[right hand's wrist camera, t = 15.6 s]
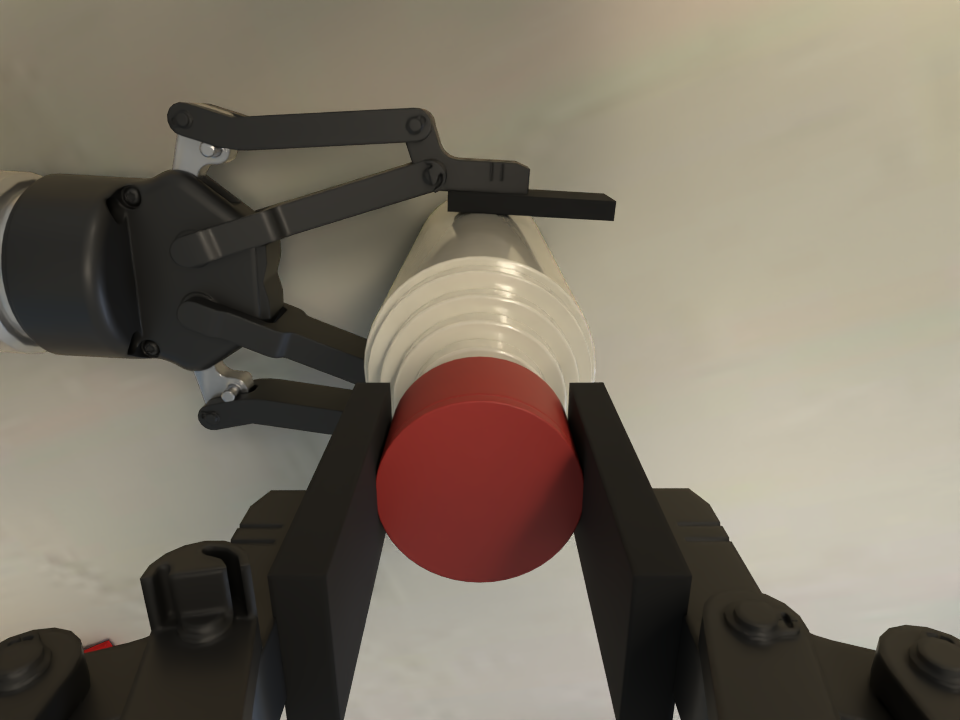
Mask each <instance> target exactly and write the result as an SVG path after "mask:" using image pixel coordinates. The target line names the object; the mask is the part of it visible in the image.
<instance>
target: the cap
mask: <svg viewBox="0 0 960 720" xmlns="http://www.w3.org/2000/svg"><path fill="white" fill-rule="evenodd" d="M583 484H584V476H583V471H582V468H581V464H580V461H579V457H578V454H577V450H576V447H575V443H574V440H573V436H572V433H571V430H570V426H569V423H568V419H567V416H566V413H565V410H564V408H563V406H562V404H561V402H560V400H559V398H558V397H557V395H556V394H555V392H554V391H553V390H552V388H551V387H550V386H549V385H548V384H547V383H546V382H545V381H544V380H543V379H541V378H540V377H539V376H538V375H537V374H535V373H533V372H532V371H530V370H529V369H527V368H525V367H523V366H521V365H519V364H517V363H514V362H511V361H508V360H504V359H499V358H494V357H481V356H479V357H466V358H461V359H455V360H452V361H449V362H446V363H443V364H441V365H439V366H437V367H435V368H433V369H431V370H429V371H428V372H426V373H425V374H423V375H422V376H421V377H420V378H418V379H417V380H416V381H415V382H414V383H413V384H412V385H411V386H410V387H409V388H408V389H407V390H406V392H405V393H404V395H403V396H402V398H401V399H400V401H399V403H398V405H397V407H396V409H395V412H394V415H393V419H392V422H391V425H390V429H389V432H388V436H387V439H386V443H385V446H384V449H383V453H382V456H381V460H380V463H379V467H378V470H377V474H376V491H377V506H378V515H379V518H380V521H381V523H382V525H383V527H384V529H385V531H386V533H387V534H388V536H389V537H390V539H391V541H392V542H393V543H394V544H395V545H396V547H397V548H398V549H399V550H400V551H401V552H402V553H403V554H404V555H406V556H407V557H408V558H409V559H410V560H412V561H413V562H415V563H416V564H417V565H419V566H421V567H422V568H424V569H426V570H428V571H430V572H432V573H435V574H437V575H440V576H443V577H446V578H450V579H453V580H459V581H465V582H495V581H501V580H506V579H510V578H514V577H517V576H520V575H522V574H525V573H527V572H530V571H532V570H534V569H535V568H537V567H539V566H541V565H542V564H544V563H545V562H547V561H548V560H549V559H551V558H552V557H553V556H554V555H555V554H556V553H558V552H559V551H560V550H561V549H562V547H563V546H564V545H565V544H566V543H567V541H568V540H569V539H570V537H571V535H572V534H573V532H574V531H575V529H576V527H577V524H578V522H579V520H580V517H581V513H582V500H583Z"/></svg>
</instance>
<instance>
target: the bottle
mask: <svg viewBox="0 0 960 720" xmlns="http://www.w3.org/2000/svg"><path fill="white" fill-rule="evenodd" d="M447 207H448V200H447V201H446V202H444V203H442V204H441V205H440V206H439V207H438V208H436V209H435V210H434V211H433V212H432V214H431V215H430V216H429V217H428V219H427V220H426V222H425V223H424V225H423V227H422V229H421V231H420V233H419V235H418V237H417V239H416V241H415V242H414V244H413V246H412V248H411V250H410V252H409V254H408V256H407V258H406V260H405V262H404V264H403V266H402V267H401V269H400V271H399V273H398V275H397V277H396V279H395V281H394V283H393V285H392V287H391V289H390V291H389V292H388V294H387V296H386V298H385V300H384V302H383V304H382V306H381V308H380V310H379V312H378V314H377V316H376V318H375V320H374V321H373V323H372V326H371V329H370V332H369V335H368V338H367V343H366V348H365V356H364V372H365V381H366V383H390V388H391V407H392V419H393V415H394V412H395V409H396V407H397V405H398V403H399V401H400V399H401V398H402V396H403V395H404V393H405V392H406V390H407V389H408V388H409V387H410V386H411V385H412V384H413V383H414V382H415V381H416V380H417V379H418V378H420V377H421V376H422V375H423V374H425V373H426V372H428V371H429V370H431V369H433V368H435V367H437V366H439V365H441V364H443V363H446V362H449V361H452V360H455V359H461V358H466V357H479V356H481V357H494V358H499V359H504V360H508V361H511V362H514V363H517V364H519V365H521V366H523V367H525V368H527V369H529V370H530V371H532V372H533V373H535V374H537V375H538V376H539V377H540V378H541V379H543V380H544V381H545V382H546V383H547V384H548V385H549V386H550V387H551V388H552V390H553V391H554V392H555V394H556V395H557V397H558V398H559V400H560V402H561V404H562V406H563V408H564V410H565V413H566V416H567V419H568V399H569V383H594V380H595V371H596V357H595V347H594V343H593V339H592V335H591V332H590V329H589V327H588V324H587V322H586V319H585V317H584V315H583V313H582V311H581V310H580V308H579V306H578V304H577V302H576V300H575V298H574V296H573V294H572V292H571V290H570V288H569V286H568V285H567V283H566V281H565V279H564V277H563V275H562V273H561V271H560V269H559V267H558V265H557V263H556V261H555V259H554V258H553V256H552V254H551V252H550V250H549V248H548V246H547V244H546V242H545V240H544V238H543V236H542V234H541V232H540V231H539V229H538V227H537V225H536V223H535V222H534V220H533V219H532V217H531V216H517V215H499V214H484V213H463V212H447Z"/></svg>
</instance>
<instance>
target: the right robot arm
mask: <svg viewBox="0 0 960 720" xmlns="http://www.w3.org/2000/svg"><path fill="white" fill-rule="evenodd" d="M391 422H392V407H391V388H390V383H356V384H355V387H354V389H353V391H352V393H351V395H350V397H349V400H348V402H347V404H346V406H345V408H344V410H343V413H342V415H341V417H340V419H339V421H338V423H337V426H336V428H335V430H334V432H333V434H332V436H331V438H330V441H329V443H328V445H327V447H326V449H325V451H324V454H323V456H322V458H321V460H320V462H319V464H318V467H317V469H316V471H315V473H314V475H313V477H312V480H311V482H310V484H309V486H308V488H307V490H271V491H270V492H268V493H267V494H266V495H264V496H263V497H262V498H261V499H259V500H258V501H257V502H255V503H254V504H253V505H251V506H250V508H249V510H248V511H247V513H246V515H245V516H244V518H243V520H242V522H241V523H240V528H237V530H236V532H235V533H234V535H233V537H232V539H231V543H230V542H227V541H202V542H198V543H193V544H189V545H185V546H182V547H180V548H178V549H175V550H173V551H171V552H168V553H166V554H164V555H163V556H162V557H160V558H159V559H158V560H156V561H155V562H154V563H152V564H151V565H149V567H148V568H147V570H146V571H145V572H144V574H143V575H142V576H141V578H140V581H141V586H142V590H143V595H144V599H145V604H146V609H147V613H148V618H149V622H150V627H151V634H150V636H148V637H146V638H143V639H139V640H136V641H133V642H130V643H126V644H121V645H117V646H113V647H108V648H104V649H100V650H96V651H91V652H87V653H84V650H83V647H82V643H81V640H80V639H79V638H78V637H77V636H76V635H75V634H74V633H73V632H72V631H69V630H64V629H59V628H47V629H38V630H32V631H29V632H25V633H22V634H19V635H16V636H13V637H10V638H8V639H6V640H4V641H2V642H1V643H0V720H280V717H281V714H282V711H283V708H284V705H285V708H286V716H287V720H344V716H345V711H346V707H347V702H348V698H349V694H350V689H351V685H352V680H353V676H354V671H355V667H356V662H357V658H358V654H359V649H360V645H361V640H362V636H363V631H364V627H365V623H366V618H367V614H368V609H369V605H370V600H371V596H372V591H373V587H374V583H375V578H376V574H377V569H378V565H379V560H380V556H381V551H382V547H383V543H384V538H385V534H386V531H385V529H384V527H383V525H382V523H381V521H380V518H379V515H378V506H377V491H376V474H377V470H378V467H379V463H380V460H381V456H382V453H383V449H384V446H385V443H386V439H387V436H388V432H389V429H390V425H391ZM568 423H569V426H570V430H571V433H572V436H573V440H574V443H575V447H576V450H577V454H578V457H579V461H580V464H581V468H582V471H583V476H584V484H583V500H582V513H581V517H580V520H579V522H578V524H577V527H576V529H575V531H574V535H575V540H576V544H577V549H578V553H579V558H580V562H581V567H582V571H583V575H584V580H585V584H586V589H587V593H588V598H589V602H590V607H591V611H592V615H593V620H594V624H595V629H596V633H597V638H598V642H599V647H600V651H601V655H602V660H603V664H604V669H605V673H606V678H607V682H608V687H609V691H610V695H611V700H612V704H613V709H614V713H615V718H616V720H673V713H674V705H675V704H676V707H677V710H678V713H679V716H680V719H681V720H960V640H959V639H958V638H956V637H954V636H952V635H950V634H946V633H943V632H940V631H937V630H934V629H931V628H928V627H920V626H911V625H903V626H898V627H893V628H889V629H888V630H887V631H886V632H884V633H883V634H882V635H881V636H880V637H879V641H878V645H877V649H876V650H871V649H867V648H863V647H858V646H854V645H850V644H845V643H841V642H837V641H833V640H829V639H826V638H822V637H819V636H816V635H813V634H811V633H810V632H809V630H808V628H807V627H806V625H805V624H804V622H803V620H802V619H801V617H800V616H799V615H798V614H797V613H796V612H794V611H793V610H792V609H791V608H789V607H788V606H787V605H786V604H785V603H783V602H781V601H779V600H777V599H774V598H772V597H770V596H768V595H766V594H763V593H762V592H761V591H760V589H759V587H758V586H757V584H756V582H755V581H754V579H753V577H752V576H751V574H750V572H749V570H748V569H747V567H746V565H745V564H744V562H743V560H742V559H741V557H740V555H739V554H738V552H737V550H736V548H735V547H734V545H733V543H732V542H730V541H729V537H728V535H727V533H726V532H725V530H724V528H723V526H720V521H719V520H718V518H717V516H716V515H715V513H714V511H713V510H712V508H711V506H710V504H708V503H707V502H706V501H705V500H703V499H702V498H701V497H699V496H698V495H697V494H695V493H694V492H693V491H691V490H690V489H689V488H652V487H651V485H650V483H649V481H648V478H647V476H646V474H645V472H644V470H643V468H642V465H641V463H640V461H639V459H638V457H637V455H636V452H635V450H634V448H633V446H632V444H631V442H630V439H629V437H628V435H627V433H626V431H625V429H624V426H623V424H622V422H621V420H620V418H619V416H618V413H617V411H616V409H615V407H614V405H613V403H612V400H611V398H610V396H609V394H608V392H607V390H606V387H605V385H604V383H569V399H568Z"/></svg>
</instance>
